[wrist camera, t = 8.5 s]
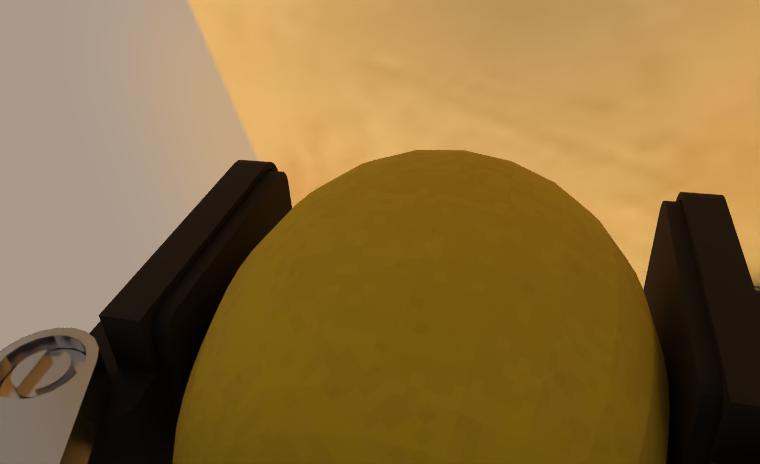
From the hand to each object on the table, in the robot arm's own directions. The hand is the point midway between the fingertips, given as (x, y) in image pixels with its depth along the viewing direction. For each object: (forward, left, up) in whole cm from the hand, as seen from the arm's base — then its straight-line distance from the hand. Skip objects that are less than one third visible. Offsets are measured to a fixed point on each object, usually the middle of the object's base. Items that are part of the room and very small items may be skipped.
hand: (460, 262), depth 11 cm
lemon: (0, 0, -1) cm, 1 cm away
